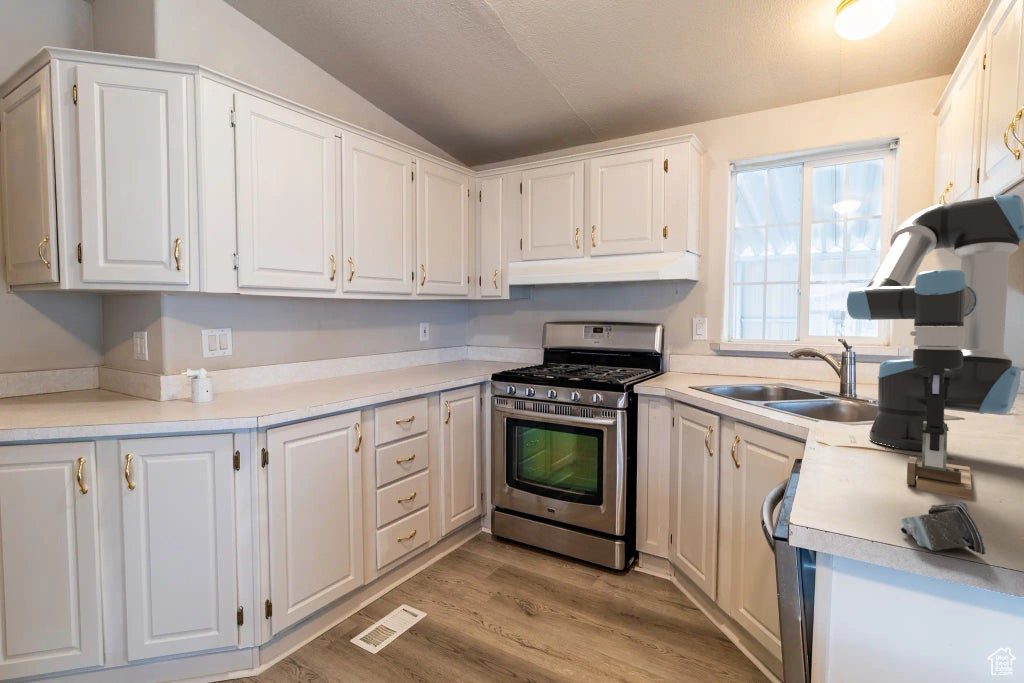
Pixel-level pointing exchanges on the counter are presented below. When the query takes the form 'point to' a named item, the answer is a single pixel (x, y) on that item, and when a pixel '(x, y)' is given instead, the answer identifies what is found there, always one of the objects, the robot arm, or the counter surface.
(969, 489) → the oak board
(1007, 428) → the counter surface
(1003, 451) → the counter surface
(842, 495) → the counter surface
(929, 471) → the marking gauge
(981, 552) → the chocolate cake
